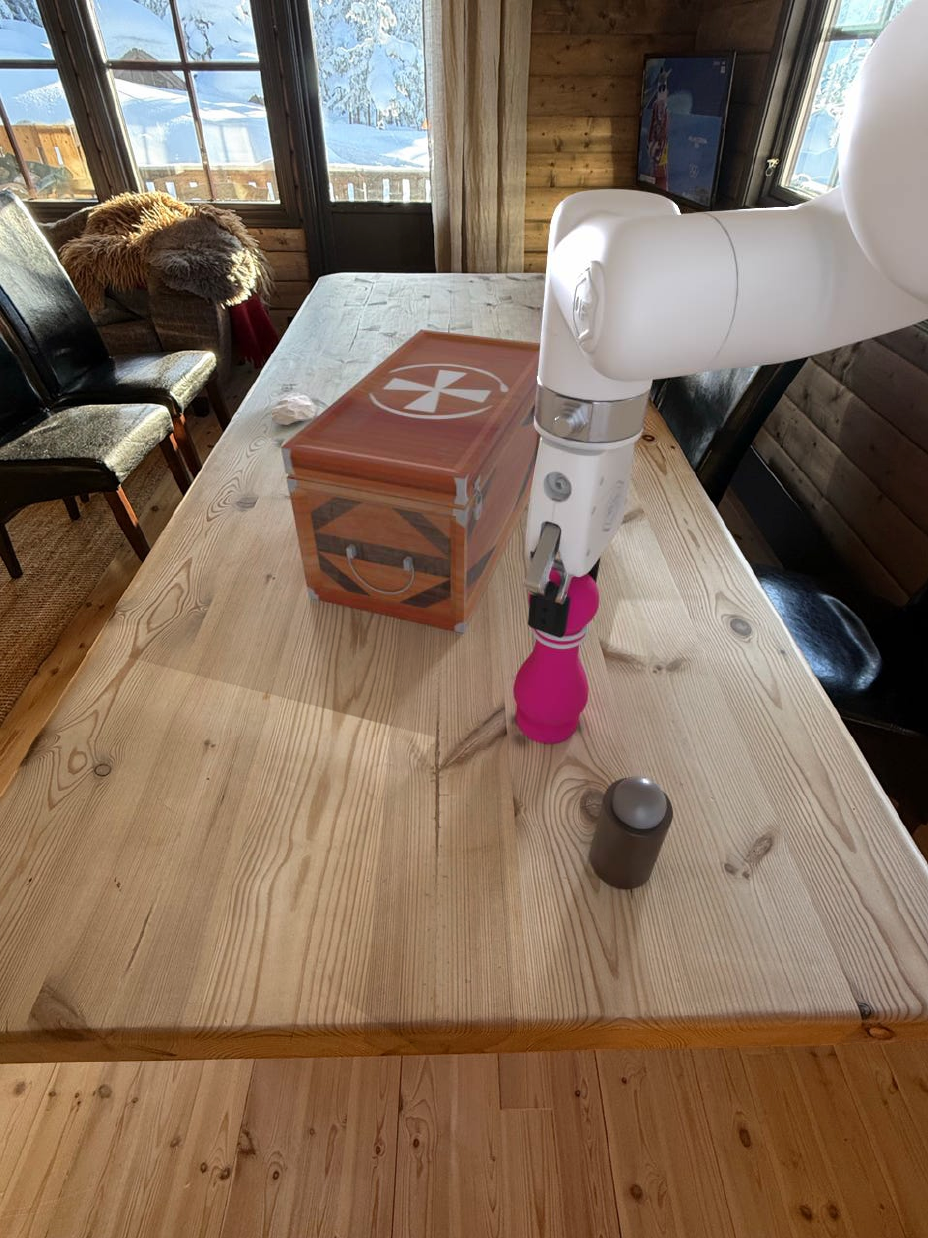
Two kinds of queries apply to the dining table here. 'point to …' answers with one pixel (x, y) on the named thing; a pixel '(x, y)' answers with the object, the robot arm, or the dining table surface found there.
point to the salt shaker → (630, 832)
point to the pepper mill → (557, 670)
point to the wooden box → (418, 478)
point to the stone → (293, 409)
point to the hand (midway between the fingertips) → (562, 606)
